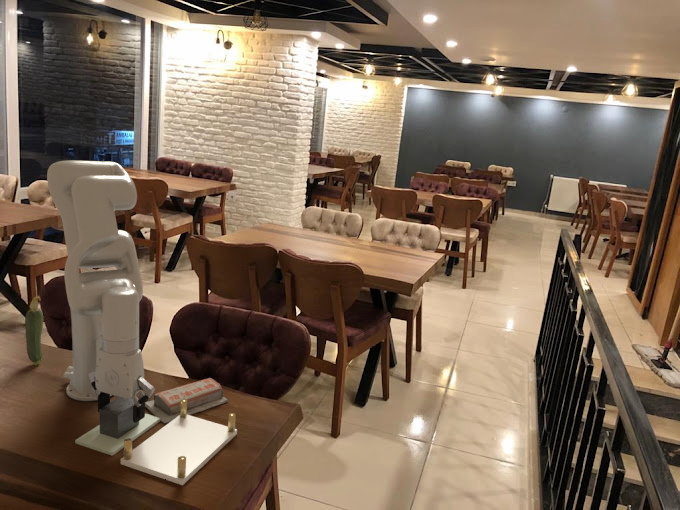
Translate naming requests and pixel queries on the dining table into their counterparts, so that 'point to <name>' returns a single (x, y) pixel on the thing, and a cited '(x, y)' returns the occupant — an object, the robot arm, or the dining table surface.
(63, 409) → the dining table surface
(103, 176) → the robot arm
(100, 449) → the board
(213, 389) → the packaged product
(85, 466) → the dining table surface
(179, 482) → the chassis
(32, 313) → the vegetable
